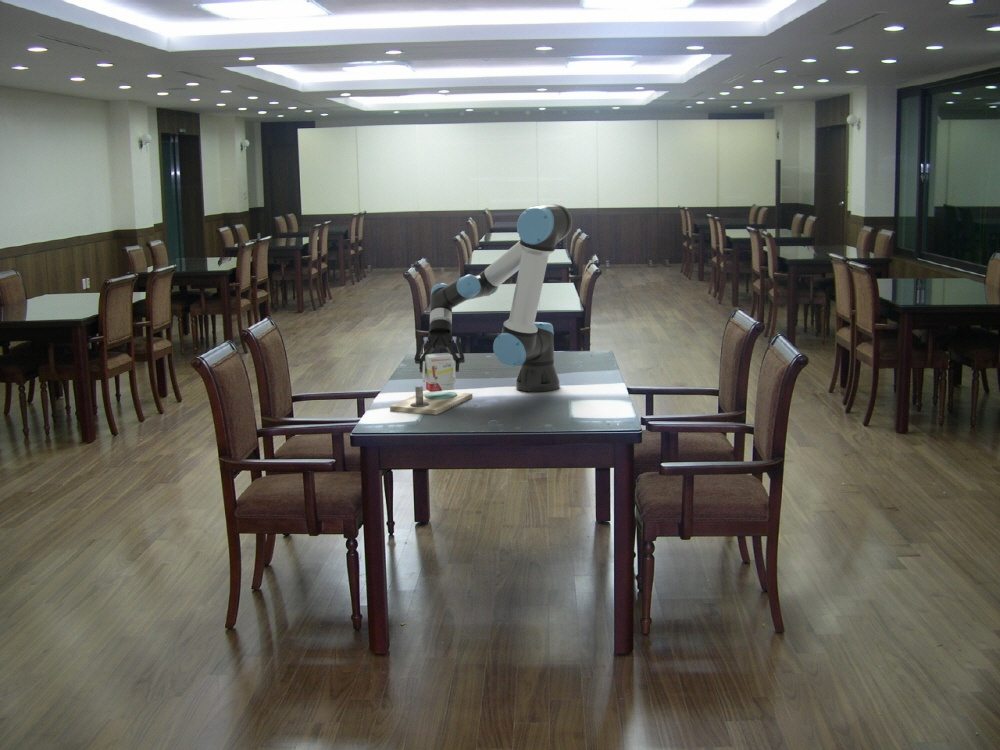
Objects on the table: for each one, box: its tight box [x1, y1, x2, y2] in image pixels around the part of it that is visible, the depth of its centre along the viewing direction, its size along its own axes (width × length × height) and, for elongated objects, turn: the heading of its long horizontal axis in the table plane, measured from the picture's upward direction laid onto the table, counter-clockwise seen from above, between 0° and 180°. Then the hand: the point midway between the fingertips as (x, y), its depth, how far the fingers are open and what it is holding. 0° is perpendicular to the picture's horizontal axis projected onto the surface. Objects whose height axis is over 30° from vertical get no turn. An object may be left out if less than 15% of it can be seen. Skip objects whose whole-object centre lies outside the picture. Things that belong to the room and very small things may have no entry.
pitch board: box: [389, 385, 474, 415], centre depth 346 cm, size 17×25×8 cm
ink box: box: [425, 352, 455, 392], centre depth 350 cm, size 9×5×12 cm, turn 109°
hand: (439, 379), depth 347 cm, fingers closed on ink box, 9 cm apart
